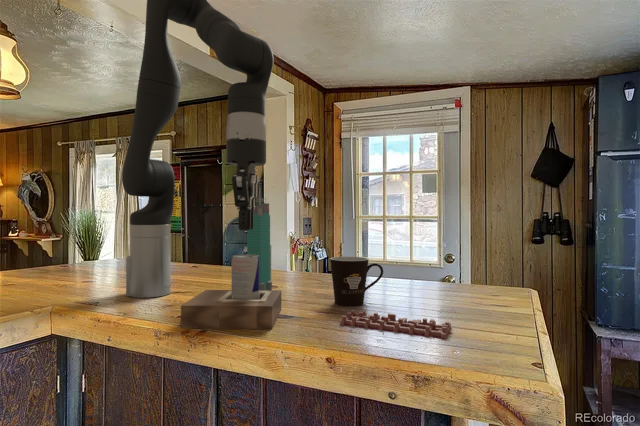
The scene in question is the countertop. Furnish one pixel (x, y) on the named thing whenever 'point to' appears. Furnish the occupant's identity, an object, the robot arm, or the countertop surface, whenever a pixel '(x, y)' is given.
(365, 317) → the chocolate bar
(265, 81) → the robot arm
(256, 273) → the energy drink
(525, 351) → the countertop surface
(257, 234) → the building
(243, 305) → the holder board
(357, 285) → the coffee mug
